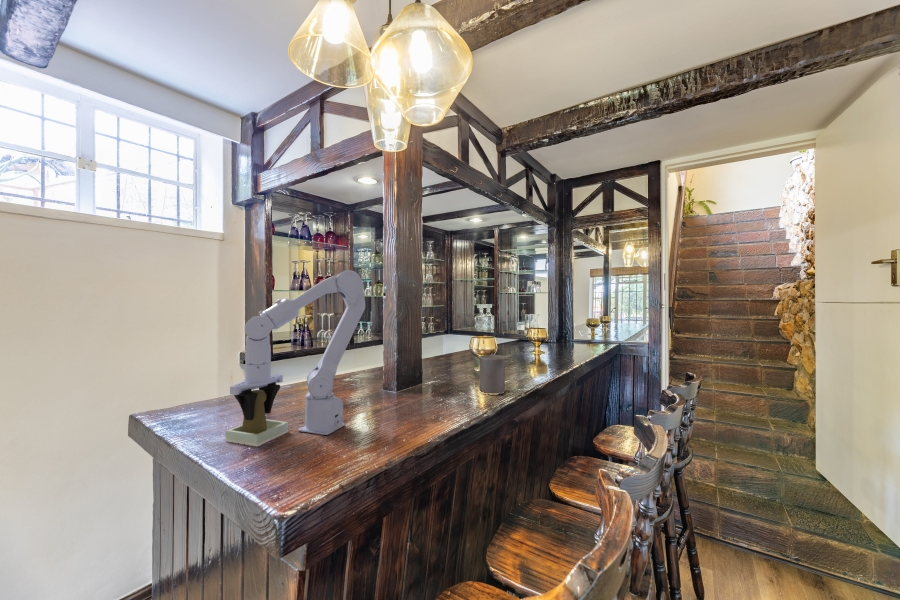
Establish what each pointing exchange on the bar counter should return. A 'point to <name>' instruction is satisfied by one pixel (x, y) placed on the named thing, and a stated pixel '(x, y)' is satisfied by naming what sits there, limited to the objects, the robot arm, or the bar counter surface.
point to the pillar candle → (492, 373)
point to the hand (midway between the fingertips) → (258, 416)
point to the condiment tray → (256, 440)
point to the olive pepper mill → (257, 415)
